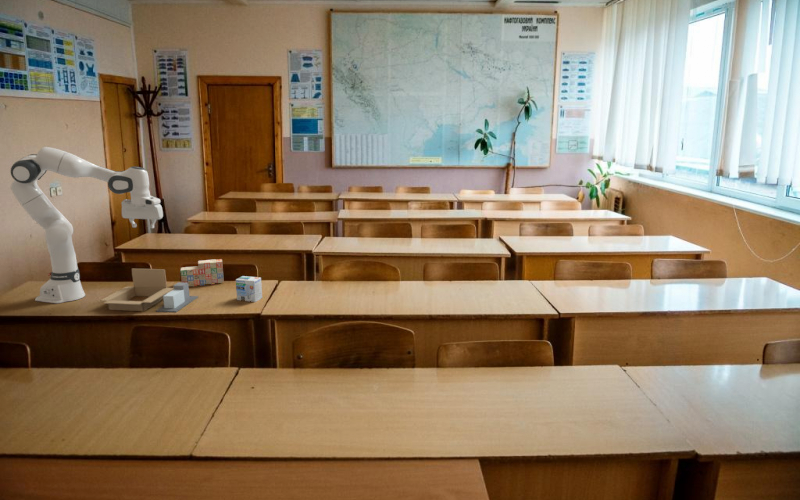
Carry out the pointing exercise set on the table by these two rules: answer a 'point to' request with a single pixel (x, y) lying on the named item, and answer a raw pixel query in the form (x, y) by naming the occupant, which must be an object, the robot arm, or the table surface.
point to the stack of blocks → (203, 273)
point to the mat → (177, 306)
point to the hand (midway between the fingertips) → (143, 227)
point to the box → (176, 295)
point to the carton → (140, 291)
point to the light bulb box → (249, 288)
